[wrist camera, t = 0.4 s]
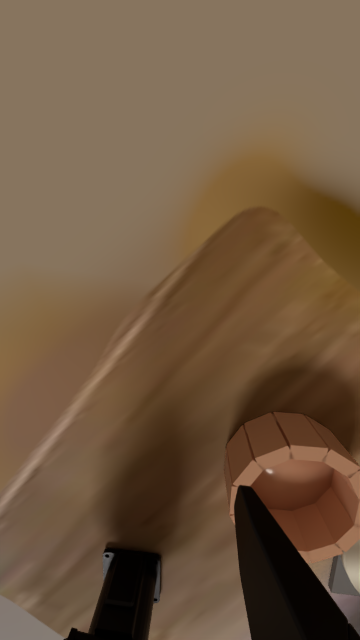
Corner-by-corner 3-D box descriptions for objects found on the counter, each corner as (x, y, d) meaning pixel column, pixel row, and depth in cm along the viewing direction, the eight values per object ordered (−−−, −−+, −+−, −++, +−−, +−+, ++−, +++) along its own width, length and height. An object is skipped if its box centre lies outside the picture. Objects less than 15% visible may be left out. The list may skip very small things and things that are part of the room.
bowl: (331, 515, 24) (360, 569, 20) (221, 504, 25) (226, 553, 21) (349, 417, 22) (386, 453, 18) (228, 408, 23) (235, 440, 18)
